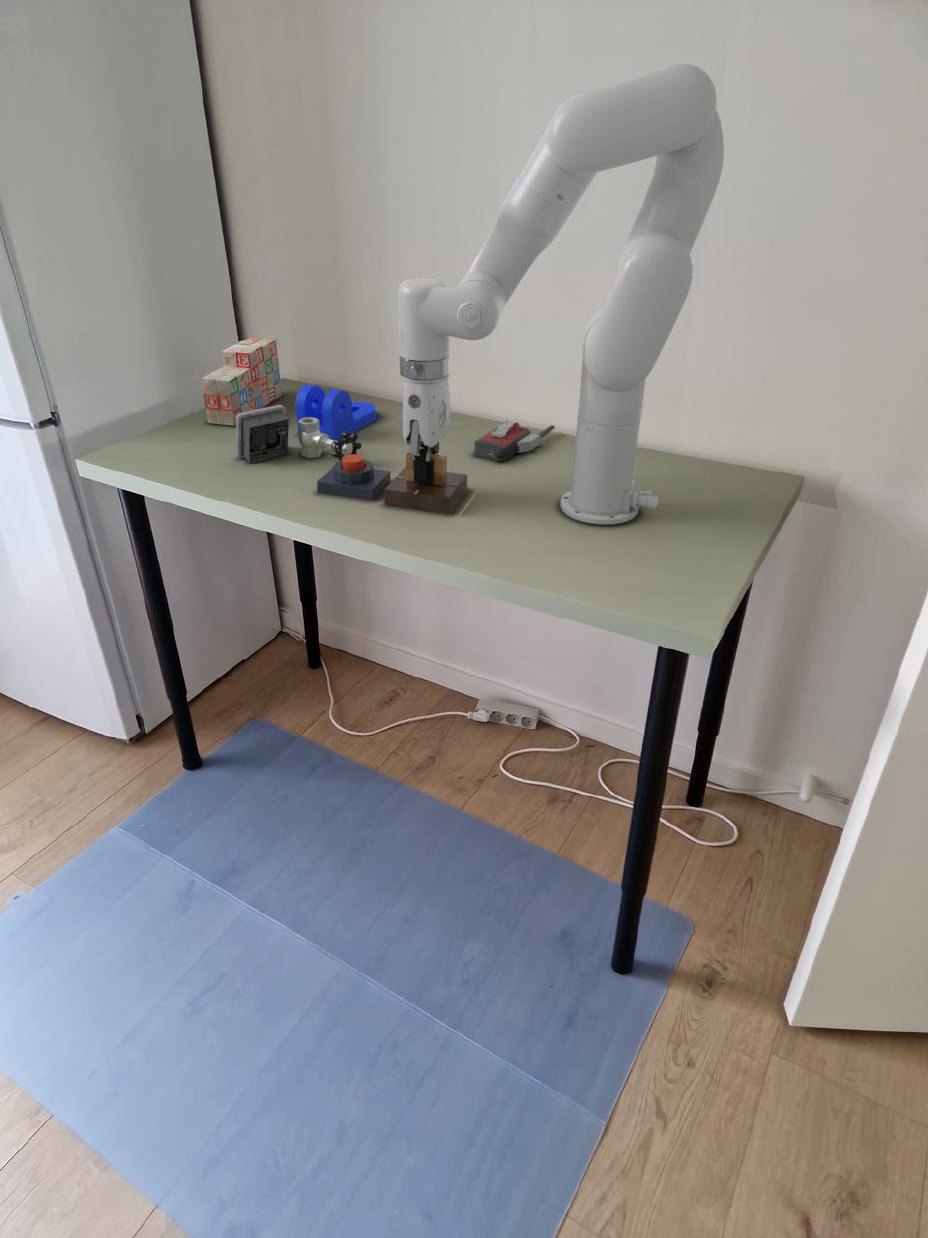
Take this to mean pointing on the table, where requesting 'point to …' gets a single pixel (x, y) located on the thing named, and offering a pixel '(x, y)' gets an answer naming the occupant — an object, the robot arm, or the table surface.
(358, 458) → the red button
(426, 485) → the handle panel
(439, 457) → the oak handle
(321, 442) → the valve
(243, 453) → the electrical switch
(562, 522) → the table surface
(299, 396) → the bracket
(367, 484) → the button box
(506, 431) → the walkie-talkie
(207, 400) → the stack of blocks
